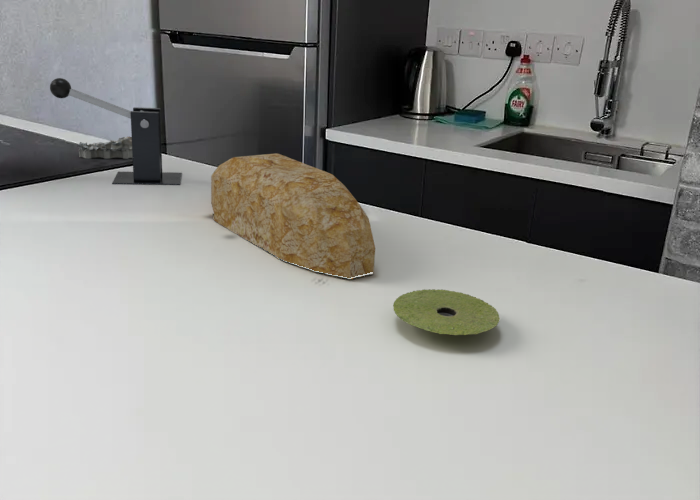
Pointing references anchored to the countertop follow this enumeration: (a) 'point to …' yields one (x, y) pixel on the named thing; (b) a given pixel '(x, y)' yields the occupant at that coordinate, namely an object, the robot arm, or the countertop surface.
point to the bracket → (147, 151)
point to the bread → (294, 213)
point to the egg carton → (107, 149)
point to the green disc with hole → (446, 312)
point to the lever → (83, 97)
